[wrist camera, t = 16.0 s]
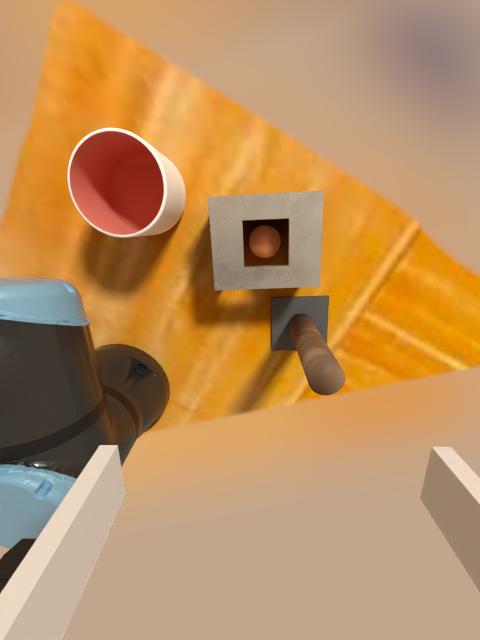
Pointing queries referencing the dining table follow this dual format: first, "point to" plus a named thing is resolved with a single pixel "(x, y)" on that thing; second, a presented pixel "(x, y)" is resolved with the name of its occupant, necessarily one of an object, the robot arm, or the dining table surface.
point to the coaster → (289, 307)
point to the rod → (315, 356)
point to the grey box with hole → (234, 210)
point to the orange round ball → (264, 241)
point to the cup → (124, 185)
